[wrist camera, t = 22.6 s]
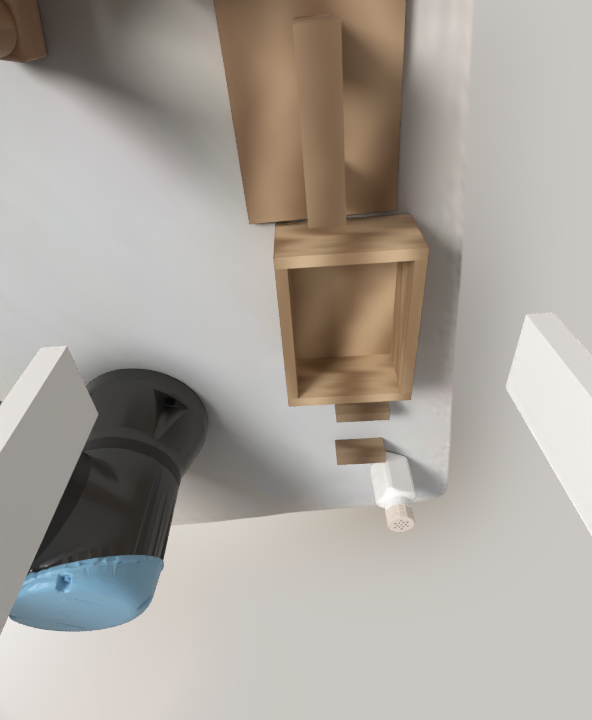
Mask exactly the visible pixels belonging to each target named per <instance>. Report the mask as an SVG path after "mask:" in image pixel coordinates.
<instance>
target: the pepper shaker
mask: <svg viewBox="0 0 592 720" xmlns="http://www.w3.org/2000/svg"><path fill="white" fill-rule="evenodd" d="M385 453H386V462H385V463H373V464H372V465H371V469H370V471H371V476H372V482H373V488H374V494H375V500H376V504H377V505H378V506H380V507H383V508H385V509H386V511H385V514H386V519H387V525H388V527H389V529H390V530H392V531H395V532H403V531H407V530H410V529H411V528H413V527H414V524H415V521H414V516H413V512H412V508H411V507H410V504H411V503H412V501H413V500H414V498H415V496H416V491H415V487H414V483H413V479H412V475H411V471H410V467H409V463H408V459H407V458H406V457H405V456H402V455H398V454H394V453H390V452H386V451H385Z"/></svg>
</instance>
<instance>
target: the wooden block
mask: <svg viewBox="0 0 592 720" xmlns="http://www.w3.org/2000/svg"><path fill="white" fill-rule="evenodd" d="M46 56H47V51H46V46H45V41H44V35H43V30H42V24H41V19H40V14H39V8H38V3H37V0H0V60H6V61H14V62H21V63H26V62H30V61H34V60H38V59H42V58H45V57H46Z"/></svg>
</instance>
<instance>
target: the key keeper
mask: <svg viewBox="0 0 592 720" xmlns="http://www.w3.org/2000/svg"><path fill="white" fill-rule="evenodd" d="M335 411H336V420H337V422H354V421H373V420H389V418H390V410H389V406H388V402H387V401H381V402H363V403H345V404H335ZM335 445H336V456H337V465H346V464H366V463H385V462H386V453H385V448H384V443H383V438H369V439H349V440H335Z"/></svg>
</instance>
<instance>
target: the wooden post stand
mask: <svg viewBox="0 0 592 720" xmlns="http://www.w3.org/2000/svg"><path fill="white" fill-rule="evenodd" d="M214 6H215V12H216V18H217V25H218V31H219V37H220V43H221V50H222V56H223V62H224V68H225V75H226V81H227V87H228V93H229V100H230V106H231V112H232V118H233V125H234V131H235V137H236V143H237V150H238V156H239V162H240V169H241V175H242V181H243V187H244V194H245V200H246V206H247V212H248V219H249V224H256V223H267V222H277V221H288V220H299V219H308V228H318V227H329V226H340V225H346V215H352V214H363V213H374V212H384V211H395V210H396V209H397V187H398V165H399V143H400V121H401V99H402V76H403V54H404V32H405V10H406V0H214Z"/></svg>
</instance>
